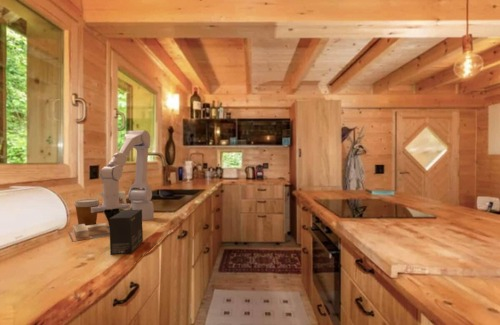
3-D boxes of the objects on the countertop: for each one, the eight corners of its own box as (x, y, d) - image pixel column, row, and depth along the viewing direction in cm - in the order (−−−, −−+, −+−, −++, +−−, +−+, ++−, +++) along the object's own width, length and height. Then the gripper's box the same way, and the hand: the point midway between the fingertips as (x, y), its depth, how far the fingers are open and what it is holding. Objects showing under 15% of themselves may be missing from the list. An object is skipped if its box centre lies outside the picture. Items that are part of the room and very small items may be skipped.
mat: (123, 225, 121) (123, 224, 121) (133, 233, 108) (133, 231, 108) (68, 233, 108) (68, 232, 108) (72, 243, 95) (72, 242, 95)
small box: (123, 242, 97) (123, 209, 97) (143, 241, 98) (142, 209, 98) (109, 255, 84) (108, 217, 84) (131, 254, 85) (131, 217, 85)
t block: (103, 228, 114) (103, 221, 114) (109, 234, 104) (109, 226, 104) (72, 232, 107) (72, 225, 107) (76, 239, 97) (76, 231, 97)
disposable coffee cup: (104, 225, 121) (104, 199, 121) (90, 230, 112) (89, 202, 111) (85, 224, 122) (84, 198, 122) (69, 230, 113) (68, 202, 112)
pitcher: (138, 216, 139) (138, 190, 139) (102, 222, 126) (101, 193, 125) (129, 213, 147) (128, 188, 146) (93, 219, 133) (93, 191, 133)
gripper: (92, 197, 102) (93, 232, 103) (132, 194, 111) (132, 226, 112) (89, 195, 108) (90, 228, 108) (128, 192, 117) (128, 223, 117)
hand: (111, 227), depth 110 cm, fingers closed
